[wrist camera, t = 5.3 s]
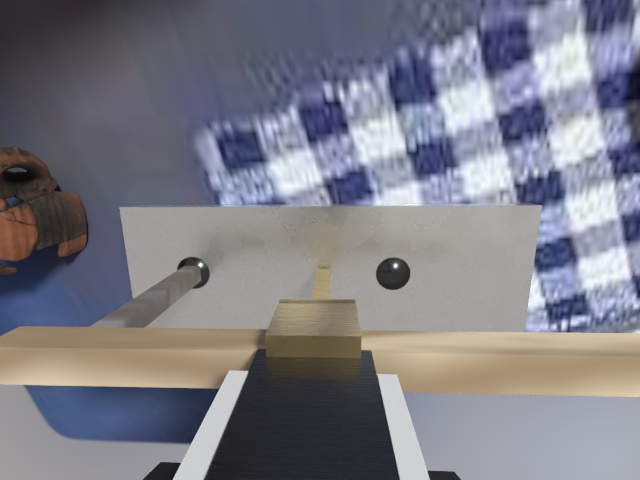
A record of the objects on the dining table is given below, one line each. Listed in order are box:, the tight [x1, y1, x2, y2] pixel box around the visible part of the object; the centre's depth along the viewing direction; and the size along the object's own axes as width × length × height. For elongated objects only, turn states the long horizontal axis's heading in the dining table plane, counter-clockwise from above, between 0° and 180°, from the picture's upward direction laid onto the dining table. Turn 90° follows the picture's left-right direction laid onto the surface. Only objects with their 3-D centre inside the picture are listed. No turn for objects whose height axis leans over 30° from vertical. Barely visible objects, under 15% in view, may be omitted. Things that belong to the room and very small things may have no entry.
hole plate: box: [119, 203, 542, 332], centre depth 29 cm, size 12×36×2 cm, turn 91°
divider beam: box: [0, 266, 640, 397], centre depth 21 cm, size 2×32×14 cm, turn 91°
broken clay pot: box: [0, 147, 87, 275], centre depth 27 cm, size 12×10×8 cm
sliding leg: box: [204, 269, 399, 480], centre depth 16 cm, size 5×5×23 cm
